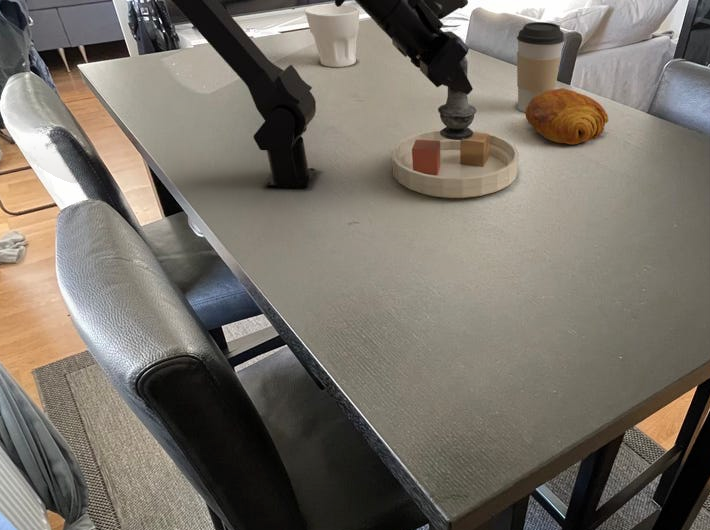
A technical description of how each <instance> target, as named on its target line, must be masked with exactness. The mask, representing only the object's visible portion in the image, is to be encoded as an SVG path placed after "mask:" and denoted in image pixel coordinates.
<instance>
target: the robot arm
mask: <svg viewBox="0 0 710 530" xmlns="http://www.w3.org/2000/svg"><path fill="white" fill-rule="evenodd" d="M345 1H346V0H334V4H335V5H336V6H337V7H340V6H341V5H342V4H344V3H345ZM170 2H171V3H172V4H173V5H174V6H175V7H176V8H177V10H179V12H180V13H181V14H182V15H183V16H184V18H185V19H187V20H188V22H189V23H190V24H191V25H192V26H193V27H194V28H195V29H196V30H197V32H198V33H199V34H200V35H201V37H203V38H204V39H205V40H206V42H207V43H208V44H209V45H210V47H212V49H214V51H216V53H217V54H218V55H219V56H220V58H221V59H222V60H224V62H225V63H226V64H227V65H228V66H229V67H230V68H231V70H233V72H234V73H235V75H237V76H238V77H239V79H241V81H242V82H243V83H244V84H245V85H246V88H247V89H248V92H249V94H250V96H251V98H252V101H253V103H254V105H255V109H256V110H257V112H258V113H259V115H260V116H261V117H262V119H263V120H264V122H263V123H262V124H261V126H260V127H259V128H258V129H257V131H256V132H255V133H254V135H253V136H252V137H253V140H254V141H255V143H256V145H257V147H258V148H259V150H260V151H266V154H267V159H268V164H269V168H270V172H271V175H270V176H269V178H268V179H267V181H266V183H265V186H266V188H286V189H287V188H288V189H289V188H290V189H307V188H309V186H310V184H311V181H312V180H313V178H314V176H315V174H316V172H317V171H316V169H315V168H314V167H309V165H308V160H307V154H306V148H305V143H304V138H303V134H304V133H306V131H307V129H308V125H309V124H310V123H311V121H312V120H313V119H314V117H315V115H316V111H317V105H316V104H317V102H316V101H317V100H316V98H315V97H314V95H313V93H312V92H311V90H312V89H313V87H312V86H311V85H310V84H308V83H306V82H305V81H304V80H303V79H302V77H301V76H300V74H299V72H298V71H297V69H296V68H295V67H294V66H293V65H292V64H289V65H288V66H287V67H286V68H285V69H282V68H281V67H279V66H277V65H275V64H274V63H273V62H272V61H270V59H268V57H267V56H266V55H265V54H264V53H263V51H261V49H260V48H259V47H258V46H257V45H256V44H255V42H254V41H253V40H252V38H251V37H250V36H249V35H248V34H247V33H246V31H245V30H244V29H243V28H242V27H241V25H239V23H237V21H236V20H235V19H234V17H233V16H232V15H231V14H230V13H229V12H228V10H226V8H225V7H224V6H223V4H221V2H220V1H219V0H170ZM354 2H355V3H357V5H358V6H360V8H361V9H362V10H363V11H364V12H365V13H366V14H367V15H368V16H369V17H370V19H372V20H373V22H375V23H376V25H377V26H378V27H379V28H380V29H381V31H383V33H385V34H386V35H387V37H389V38H390V39H391V44H392V46H394V47H395V48H396V49H397V51H399V53H400V54H402V56H404V58H407V57H408V58H409V59H410V63H412V64H413V66H415V67H416V68H418V69H419V71H420V72H421V73H422V74H423V75H424V76H425V77H426V78H427V80H429V82H430V83H432V84H433V85H434V86H435V87H436V88H440V87H441V86H445V87H447V88H448V87H450V88H452V89H455V90H457V91H460V92H463V93H465V94H467V95H470V94H471V92H472V91H473V89H474V88H473V86H472V84H471V82H470V80H469V78H468V75H467V76H466V74H465V72H464V71H463V69H462V67H461V65H460V62H461V61H462V59H463V58H464V57H467V55H468V53H469V50H470V47H469V46H468V45H467V44H466V43H465V41H464V40H463V39H462V38H461V37H460V36H458V35H457V34H456V33H455V32H453V31H450V30H449V31H443V30H442V29H441V28H442V27H443V26H444V23H443V22H442V21H441V20H442V19H444V18H446V17H448V16H449V15H451V14H452V13H454V12H456V11H457V10H459V9H461V10H462V9H463V8H465V7H466V6H467V5H468V4H469V1H468V0H354Z"/></svg>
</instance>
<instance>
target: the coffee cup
mask: <svg viewBox="0 0 710 530" xmlns="http://www.w3.org/2000/svg"><path fill="white" fill-rule="evenodd" d="M564 36H565V34H564V31H562V30H561V26H560V24H556V23H553V22H547V21H534V22H527V23H525V24H524V25H523V27H522V29H521V30H519V32H518V35H517V36H516V39H517V51H516V83H517V84H516V87H517V109H518V110H519V111H520V112H522V113H525V111H526V108H527V106H528V104H529V103H530V101H531V99H533V98H534V97H535V96H537V95H540V94H542V93H544V92H545V91H547V90H554V89H556V86H557V80H558V75H559V70H560V65H561V60H562V50H563V45H564V42H565V38H564Z"/></svg>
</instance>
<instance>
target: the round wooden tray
mask: <svg viewBox="0 0 710 530" xmlns="http://www.w3.org/2000/svg"><path fill="white" fill-rule="evenodd" d="M441 130H442V129H435V130H427V131H424V132H418V133H415V134H412V135H410V136H406V137H404V138H403V139H401V140H400V141H398V142H397V143H396V144H395V145H394V147H393V148H392V150H391V161H392V175H393V177H394V178H395V179H396V181H397V182H398V183H399V184H400V185H402V186H403V187H405V188H407V189H409V190H411V191H413V192H417V193H420V194H423V195H427V196H431V197H436V198H443V199H444V198H445V199H468V198H476V197H482V196H485V195H489V194H491V193H495V192H498V191H500V190H502V189H504V188H506V187H508V186H510V185H511V184H512V183H513V181H515V180H516V178H517V175H518V169H519V157H520V154H519V150H518V149H517V146H516V145H515V144H513V143H512V142H511V141H509V140H508V139H505V138H503V137H501V136H499V135H496V134H494V133H489V132H485V131H482V130H481V131H480V130H475V129H474V130H473V129H471V130H472V131H473V132H478V133H487V134H490V138H489V158H488V159H487V161H486V163H485V165H484V166H483V167H482V166H473V165H465V164H460V140H451V139H447V138H444V137H442V136H441V135H440V131H441ZM415 140H435V141H440V161H441V165H440V168H439V172H438V175H430V174H423V173H420V172H417V171H414V170H413V161H412V148H413V145H414V143H415Z"/></svg>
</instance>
